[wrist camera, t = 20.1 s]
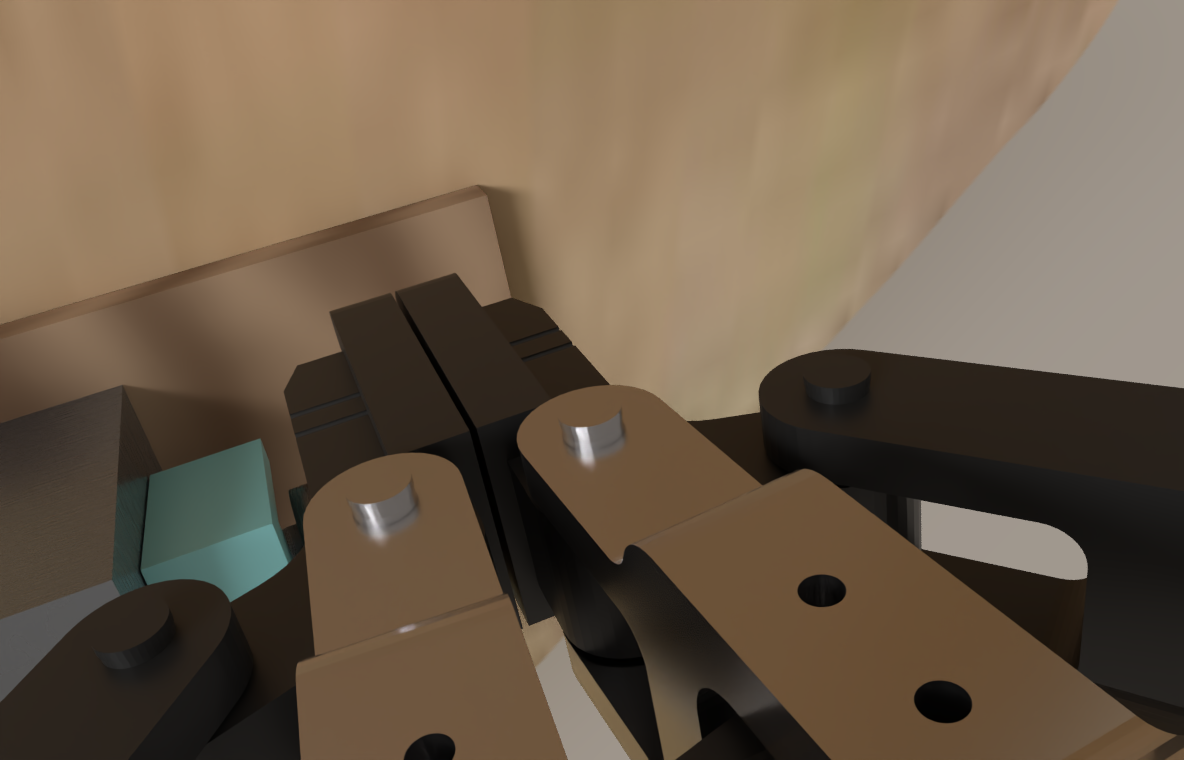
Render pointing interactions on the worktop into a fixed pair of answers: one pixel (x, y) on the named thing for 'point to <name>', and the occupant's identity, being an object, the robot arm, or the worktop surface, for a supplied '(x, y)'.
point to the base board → (242, 330)
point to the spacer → (215, 522)
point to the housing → (68, 521)
